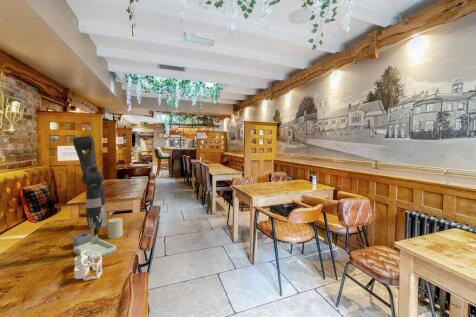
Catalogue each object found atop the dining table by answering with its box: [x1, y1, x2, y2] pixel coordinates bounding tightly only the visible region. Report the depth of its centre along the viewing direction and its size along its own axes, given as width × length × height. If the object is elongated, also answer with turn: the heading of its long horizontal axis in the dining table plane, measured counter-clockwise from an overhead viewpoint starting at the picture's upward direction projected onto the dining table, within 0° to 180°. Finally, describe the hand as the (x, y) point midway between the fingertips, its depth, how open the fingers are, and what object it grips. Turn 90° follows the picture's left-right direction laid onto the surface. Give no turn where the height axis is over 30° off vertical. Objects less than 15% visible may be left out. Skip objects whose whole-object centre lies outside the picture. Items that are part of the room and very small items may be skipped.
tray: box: [73, 238, 117, 263], centre depth 124 cm, size 14×20×3 cm
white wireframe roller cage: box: [73, 249, 103, 282], centre depth 105 cm, size 20×11×7 cm, turn 38°
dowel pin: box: [90, 226, 99, 244], centre depth 123 cm, size 3×3×10 cm
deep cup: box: [72, 232, 91, 248], centre depth 132 cm, size 7×7×6 cm
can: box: [107, 217, 124, 240], centre depth 146 cm, size 9×9×12 cm
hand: (94, 233), depth 123 cm, fingers closed on dowel pin, 3 cm apart
